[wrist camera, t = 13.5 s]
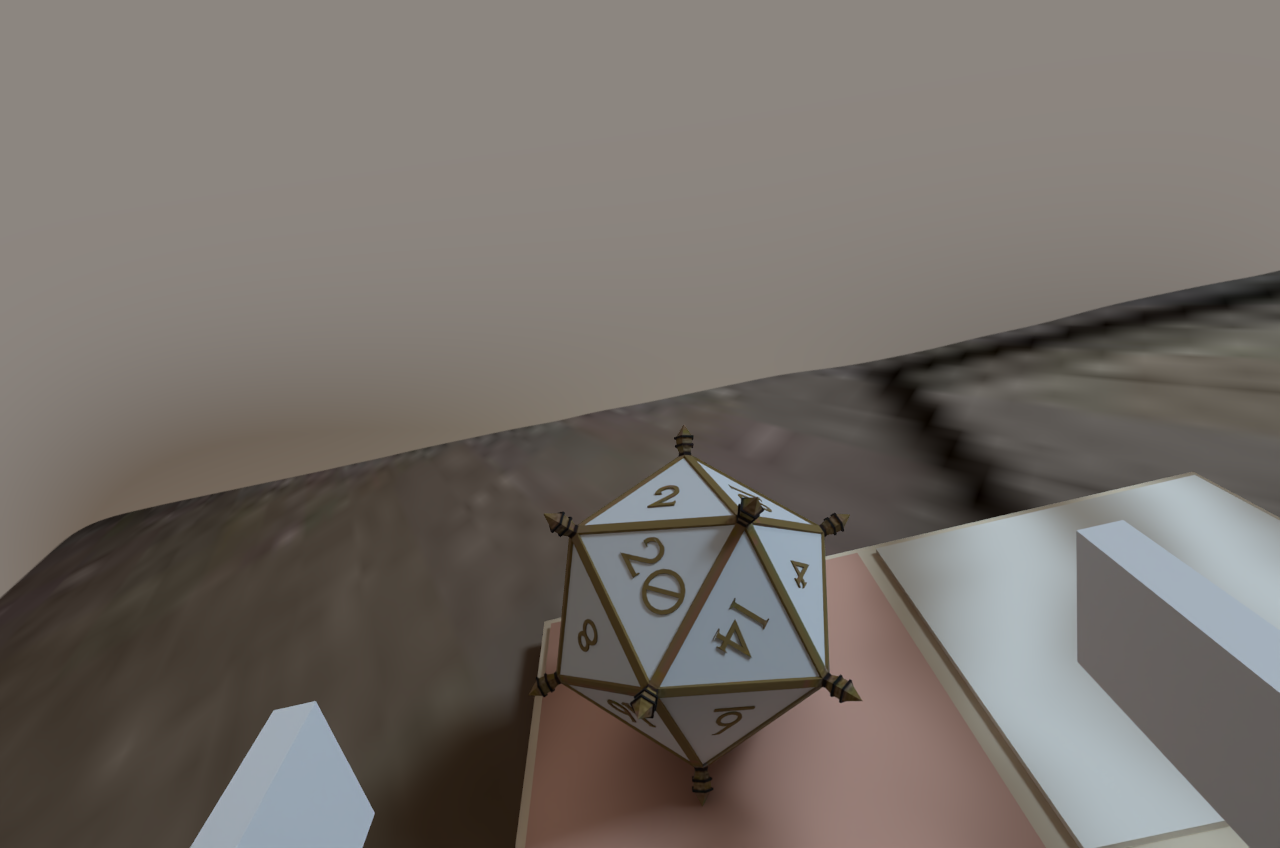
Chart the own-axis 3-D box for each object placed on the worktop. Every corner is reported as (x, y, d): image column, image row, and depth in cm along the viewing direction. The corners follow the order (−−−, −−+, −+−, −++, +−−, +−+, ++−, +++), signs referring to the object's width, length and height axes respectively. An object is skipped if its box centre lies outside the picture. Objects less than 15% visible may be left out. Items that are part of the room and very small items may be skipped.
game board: (1191, 495, 26) (1193, 466, 26) (1701, 787, 14) (1720, 743, 14) (551, 641, 27) (543, 617, 27) (508, 1033, 15) (491, 1000, 15)
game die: (808, 814, 21) (1017, 688, 13) (521, 850, 18) (587, 722, 11) (736, 552, 26) (856, 364, 19) (511, 555, 24) (550, 343, 17)
